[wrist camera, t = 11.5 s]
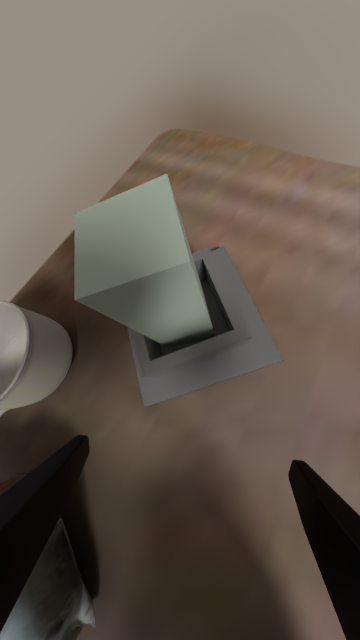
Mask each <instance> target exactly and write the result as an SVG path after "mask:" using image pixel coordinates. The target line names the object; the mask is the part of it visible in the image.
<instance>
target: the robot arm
mask: <svg viewBox="0 0 360 640" xmlns="http://www.w3.org/2000/svg"><path fill="white" fill-rule="evenodd" d="M89 450H90V448H89V439H88V436H87V435H78V436H76V437H75V438H73V439H72V440H71V441H69V442H68V443H67V444H65V445H64V446H63V447H62V448H60V449H59V450H58V451H56V452H55V453H54V454H52V455H51V456H50V457H48V458H47V459H46V460H45V461H43V462H42V463H41V464H39V465H38V466H37V467H35V468H34V469H33V470H31V471H30V472H29V473H27V474H26V475H25V476H24V477H22V478H21V479H20V480H18V481H17V482H16V483H14V484H13V485H12V486H10V487H9V488H8V489H6V490H5V491H4V492H3V493H1V494H0V633H1V631H2V629H3V627H4V625H5V623H6V621H7V619H8V617H9V615H10V613H11V612H12V610H13V608H14V606H15V604H16V602H17V600H18V598H19V596H20V594H21V592H22V590H23V588H24V586H25V584H26V583H27V581H28V579H29V577H30V575H31V573H32V571H33V569H34V567H35V565H36V563H37V561H38V559H39V557H40V555H41V554H42V552H43V550H44V548H45V546H46V544H47V542H48V540H49V538H50V536H51V534H52V532H53V530H54V528H55V526H56V524H57V523H58V521H59V519H60V517H61V515H62V513H63V511H64V509H65V507H66V505H67V503H68V501H69V499H70V497H71V495H72V493H73V490H74V488H75V486H76V483H77V481H78V478H79V476H80V474H81V471H82V469H83V466H84V464H85V462H86V459H87V457H88V454H89ZM289 481H290V484H291V488H292V491H293V494H294V498H295V501H296V504H297V508H298V511H299V514H300V518H301V521H302V524H303V527H304V530H305V533H306V536H307V538H308V541H309V544H310V546H311V549H312V551H313V554H314V557H315V559H316V562H317V564H318V567H319V570H320V572H321V575H322V577H323V580H324V583H325V585H326V588H327V590H328V593H329V596H330V598H331V601H332V603H333V606H334V609H335V611H336V614H337V616H338V619H339V622H340V624H341V627H342V629H343V632H344V635H345V637H346V640H360V516H359V515H358V514H357V513H356V512H355V511H354V510H353V509H352V508H351V507H350V506H349V505H348V504H347V503H346V502H345V501H344V500H343V499H342V498H341V497H340V496H339V495H338V494H337V493H336V492H335V491H334V490H333V489H332V488H331V487H330V486H329V485H328V484H327V483H326V482H325V481H324V480H323V479H322V478H321V477H320V476H319V475H318V474H317V473H316V472H315V471H314V470H313V469H312V468H311V467H310V466H309V465H308V464H307V463H306V462H304V461H302V460H293V461H292V464H291V467H290V470H289Z"/></svg>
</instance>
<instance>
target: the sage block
mask: <svg viewBox="0 0 360 640" xmlns="http://www.w3.org/2000/svg"><path fill="white" fill-rule="evenodd" d="M74 300H75V301H77V302H79V303H81V304H83V305H85V306H87V307H89V308H91V309H93V310H95V311H97V312H99V313H101V314H103V315H105V316H107V317H109V318H111V319H113V320H115V321H117V322H119V323H121V324H123V325H125V326H127V327H129V328H131V329H133V330H135V331H137V332H139V333H141V334H143V335H144V336H146V337H148V338H150V339H152V340H154V341H156V342H158V343H160V344H162V345H164V346H166V347H168V348H172V347H176V346H180V345H184V344H188V343H192V342H196V341H200V340H203V339H207V338H211V337H215V333H214V329H213V325H212V322H211V318H210V314H209V311H208V307H207V304H206V300H205V296H204V293H203V290H202V286H201V283H200V280H199V276H198V273H197V270H196V267H195V263H194V260H193V257H192V254H191V250H190V247H189V244H188V241H187V237H186V234H185V231H184V227H183V224H182V221H181V218H180V214H179V211H178V208H177V205H176V201H175V198H174V195H173V192H172V188H171V185H170V182H169V178H168V175H167V174H165V175H163V176H160V177H158V178H156V179H153V180H151V181H149V182H146V183H144V184H142V185H139V186H137V187H135V188H132V189H130V190H128V191H125V192H123V193H121V194H118V195H116V196H114V197H112V198H109V199H107V200H105V201H102V202H100V203H98V204H95V205H93V206H91V207H89V208H86V209H84V210H81V211H79V212H77V213H75V276H74Z"/></svg>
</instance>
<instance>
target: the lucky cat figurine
mask: <svg viewBox="0 0 360 640" xmlns="http://www.w3.org/2000/svg"><path fill="white" fill-rule="evenodd" d="M25 475H26V474H25V473H22V474H19V475H17V476H14V477H12V478H11V479H9V480H7V481H5V482H3V483H1V484H0V494H1V493H3V492H4V491H5V490H6V489H8V488H9V487H10V486H12V485H13V484H14V483H16V482H17V481H18V480H20V479H21V478H22V477H24V476H25ZM86 624H90V625H92V626H93V627H94V628H95V613H94V606H93V602H92V599H91V597H90V595H89V593H88V591H87V589H86V587H85V585H84V582H83V580H82V578H81V576H80V573H79V570H78V567H77V564H76V560H75V557H74V554H73V550H72V547H71V543H70V540H69V537H68V533H67V530H66V527H65V524H64V522H63V519H62V518H61V517H60V519H59V521H58V523H57V524H56V526H55V528H54V530H53V532H52V534H51V536H50V538H49V540H48V542H47V544H46V546H45V548H44V550H43V552H42V554H41V555H40V557H39V559H38V561H37V563H36V565H35V567H34V569H33V571H32V573H31V575H30V577H29V579H28V581H27V583H26V584H25V586H24V588H23V590H22V592H21V594H20V596H19V598H18V600H17V602H16V604H15V606H14V608H13V610H12V612H11V613H10V615H9V617H8V619H7V621H6V623H5V625H4V627H3V629H2V631H1V633H0V640H76V638H77V637H78V635H79V633H80V631H81V629H82V627H83V626H84V625H86Z"/></svg>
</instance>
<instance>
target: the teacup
mask: <svg viewBox="0 0 360 640" xmlns="http://www.w3.org/2000/svg"><path fill="white" fill-rule="evenodd" d="M72 353H73V350H72V343H71V339H70V337H69V335H68V333H67V332H66V330H65V329H64V328H63V327H62V326H61V325H60V324H59V323H57V322H56V321H54V320H52V319H50V318H48V317H45V316H43V315H40V314H38V313H35V312H32V311H30V310H27V309H24V308H21V307H19V306H17V305H16V304H14V303H11V302H7V301H0V416H1V415H2V414H3V413H4V412H5V411H7V410H9V409H13V408H18V407H23V406H26V405H30V404H33V403H36V402H38V401H40V400H42V399H44V398H45V397H47V396H48V395H50V394H51V393H52V392H53V391H55V390H56V388H57V387H58V386H59V385H60V384H61V383H62V381H63V380H64V378H65V377H66V375H67V373H68V371H69V368H70V365H71V361H72Z"/></svg>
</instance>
